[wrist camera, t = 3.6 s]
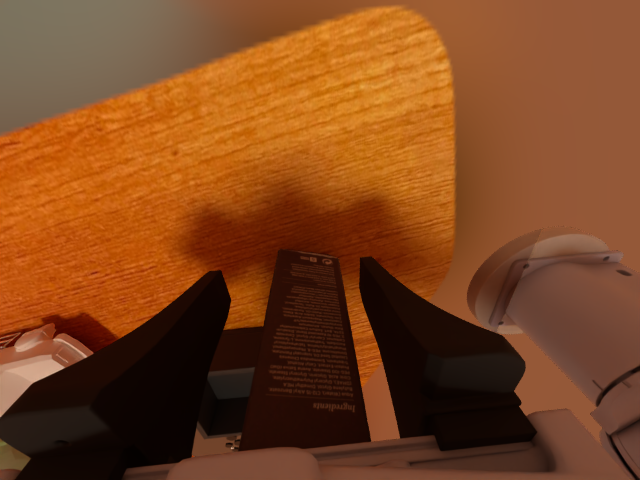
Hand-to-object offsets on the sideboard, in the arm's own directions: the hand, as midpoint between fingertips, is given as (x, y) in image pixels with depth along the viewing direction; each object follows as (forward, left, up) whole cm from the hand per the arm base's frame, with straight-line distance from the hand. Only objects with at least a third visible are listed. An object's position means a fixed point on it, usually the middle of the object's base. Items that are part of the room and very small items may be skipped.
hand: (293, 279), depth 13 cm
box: (0, +4, -4) cm, 5 cm away
